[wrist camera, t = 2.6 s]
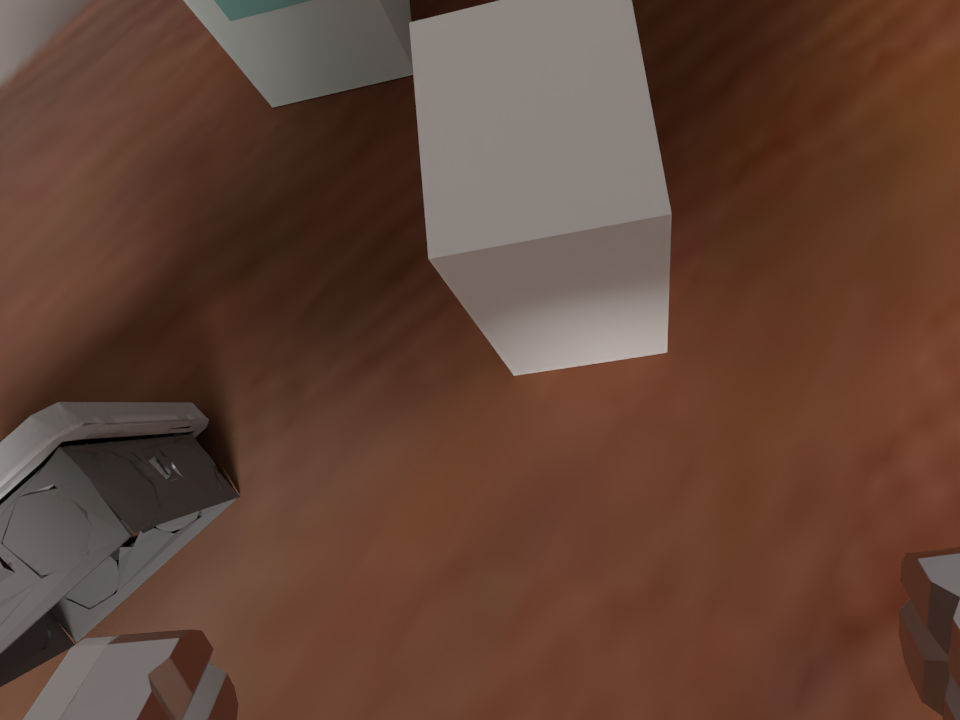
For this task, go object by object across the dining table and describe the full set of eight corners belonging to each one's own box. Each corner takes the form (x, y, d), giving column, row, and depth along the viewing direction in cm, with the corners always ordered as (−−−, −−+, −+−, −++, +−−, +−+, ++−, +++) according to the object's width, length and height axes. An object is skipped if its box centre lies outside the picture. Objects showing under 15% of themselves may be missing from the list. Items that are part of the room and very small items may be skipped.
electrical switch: (205, 401, 28) (11, 348, 19) (288, 510, 26) (123, 510, 17) (12, 574, 28) (-276, 605, 19) (86, 692, 26) (-185, 786, 17)
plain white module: (637, 182, 26) (625, -37, 17) (667, 352, 24) (671, 214, 15) (495, 210, 27) (408, 17, 18) (514, 375, 25) (428, 259, 16)
